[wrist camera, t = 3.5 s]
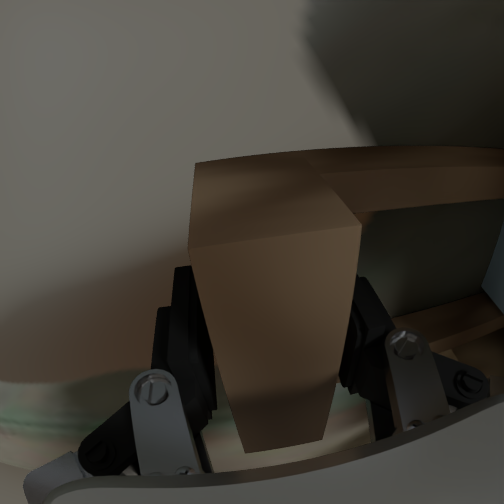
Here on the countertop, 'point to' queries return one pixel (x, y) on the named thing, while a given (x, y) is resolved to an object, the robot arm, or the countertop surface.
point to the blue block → (496, 274)
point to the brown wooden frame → (313, 269)
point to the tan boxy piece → (482, 353)
